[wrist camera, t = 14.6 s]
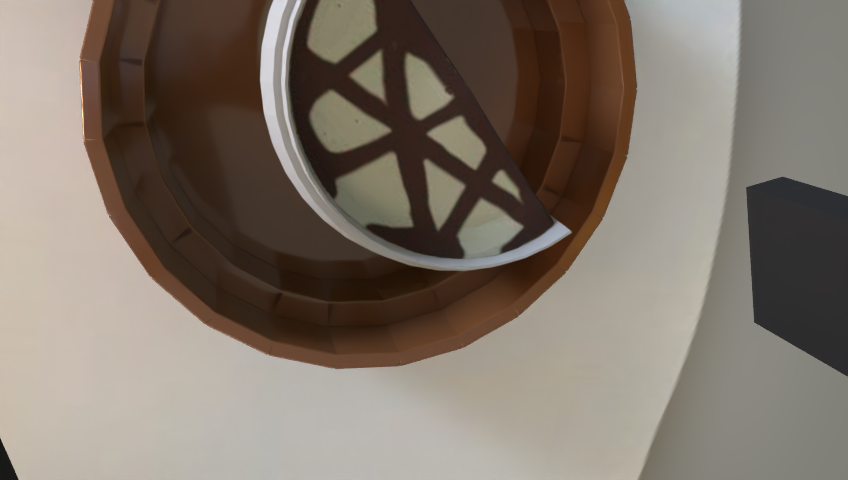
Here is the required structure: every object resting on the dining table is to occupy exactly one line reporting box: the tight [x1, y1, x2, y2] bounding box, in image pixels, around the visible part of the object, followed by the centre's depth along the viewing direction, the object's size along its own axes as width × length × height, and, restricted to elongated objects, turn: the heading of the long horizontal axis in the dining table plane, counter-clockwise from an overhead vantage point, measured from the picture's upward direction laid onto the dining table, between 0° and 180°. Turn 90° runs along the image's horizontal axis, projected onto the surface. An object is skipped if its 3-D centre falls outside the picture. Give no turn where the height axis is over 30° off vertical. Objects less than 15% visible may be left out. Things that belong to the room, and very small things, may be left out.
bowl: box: [79, 0, 637, 369], centre depth 30 cm, size 19×19×6 cm
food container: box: [260, 0, 572, 271], centre depth 27 cm, size 12×6×10 cm, turn 35°
